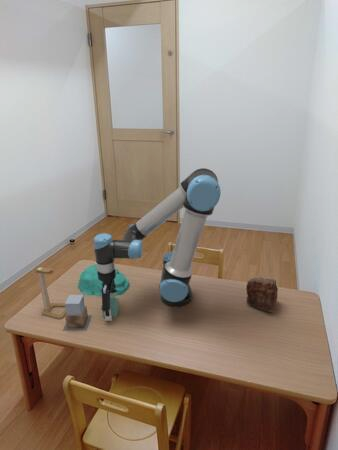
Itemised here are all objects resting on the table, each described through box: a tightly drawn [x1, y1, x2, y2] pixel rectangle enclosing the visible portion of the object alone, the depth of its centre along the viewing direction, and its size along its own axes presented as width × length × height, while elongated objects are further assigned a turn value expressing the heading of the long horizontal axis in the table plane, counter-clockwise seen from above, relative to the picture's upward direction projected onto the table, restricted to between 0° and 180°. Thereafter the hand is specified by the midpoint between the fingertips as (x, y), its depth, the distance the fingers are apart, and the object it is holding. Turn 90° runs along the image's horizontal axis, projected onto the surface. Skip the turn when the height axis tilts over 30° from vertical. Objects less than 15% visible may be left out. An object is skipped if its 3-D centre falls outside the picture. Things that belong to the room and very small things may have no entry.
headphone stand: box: [35, 266, 66, 320], centre depth 146 cm, size 10×11×22 cm
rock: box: [245, 277, 279, 313], centre depth 147 cm, size 14×12×15 cm
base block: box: [64, 305, 89, 328], centre depth 142 cm, size 7×7×6 cm
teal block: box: [101, 297, 120, 318], centre depth 148 cm, size 6×6×6 cm
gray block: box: [64, 294, 86, 316], centre depth 139 cm, size 6×6×6 cm
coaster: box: [62, 314, 93, 332], centre depth 143 cm, size 10×10×1 cm
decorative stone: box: [77, 264, 131, 298], centre depth 168 cm, size 21×27×10 cm
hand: (111, 312), depth 149 cm, fingers open, 10 cm apart
